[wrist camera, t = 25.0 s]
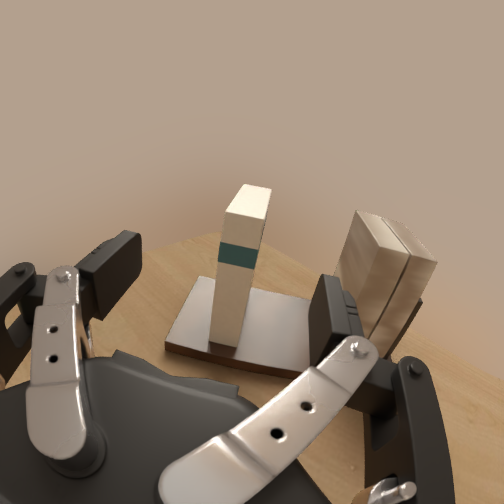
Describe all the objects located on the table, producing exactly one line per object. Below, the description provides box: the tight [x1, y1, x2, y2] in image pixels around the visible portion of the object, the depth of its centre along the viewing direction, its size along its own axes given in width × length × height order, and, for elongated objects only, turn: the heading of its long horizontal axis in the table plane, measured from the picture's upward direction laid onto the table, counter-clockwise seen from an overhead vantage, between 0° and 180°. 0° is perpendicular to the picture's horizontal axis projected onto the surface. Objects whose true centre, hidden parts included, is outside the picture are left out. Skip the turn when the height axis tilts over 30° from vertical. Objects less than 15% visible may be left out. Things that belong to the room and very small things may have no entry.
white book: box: [209, 184, 272, 347], centre depth 24 cm, size 3×8×12 cm, turn 173°
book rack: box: [165, 210, 437, 379], centre depth 24 cm, size 22×11×13 cm, turn 83°
